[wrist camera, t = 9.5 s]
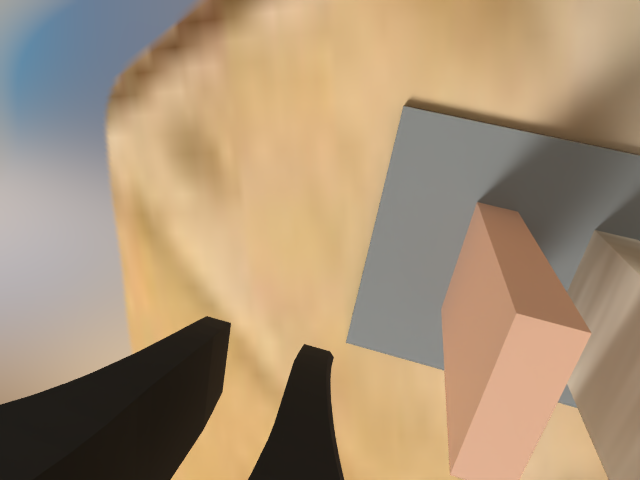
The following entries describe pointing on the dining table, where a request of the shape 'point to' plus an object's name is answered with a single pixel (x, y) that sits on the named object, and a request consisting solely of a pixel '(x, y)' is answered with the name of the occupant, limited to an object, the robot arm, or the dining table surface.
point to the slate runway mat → (457, 210)
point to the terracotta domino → (504, 347)
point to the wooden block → (610, 351)
